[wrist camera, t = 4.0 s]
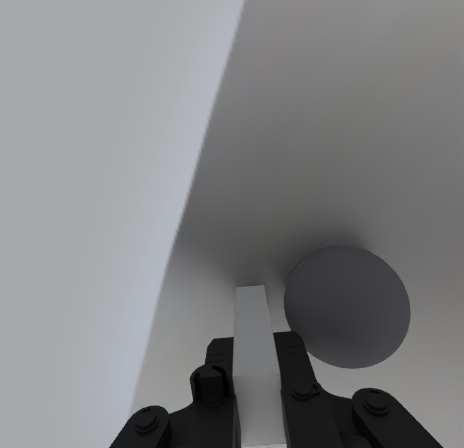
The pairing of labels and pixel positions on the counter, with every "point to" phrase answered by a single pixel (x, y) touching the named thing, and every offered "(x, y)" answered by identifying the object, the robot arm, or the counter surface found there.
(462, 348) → the counter surface
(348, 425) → the robot arm
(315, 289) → the dark grey ball
